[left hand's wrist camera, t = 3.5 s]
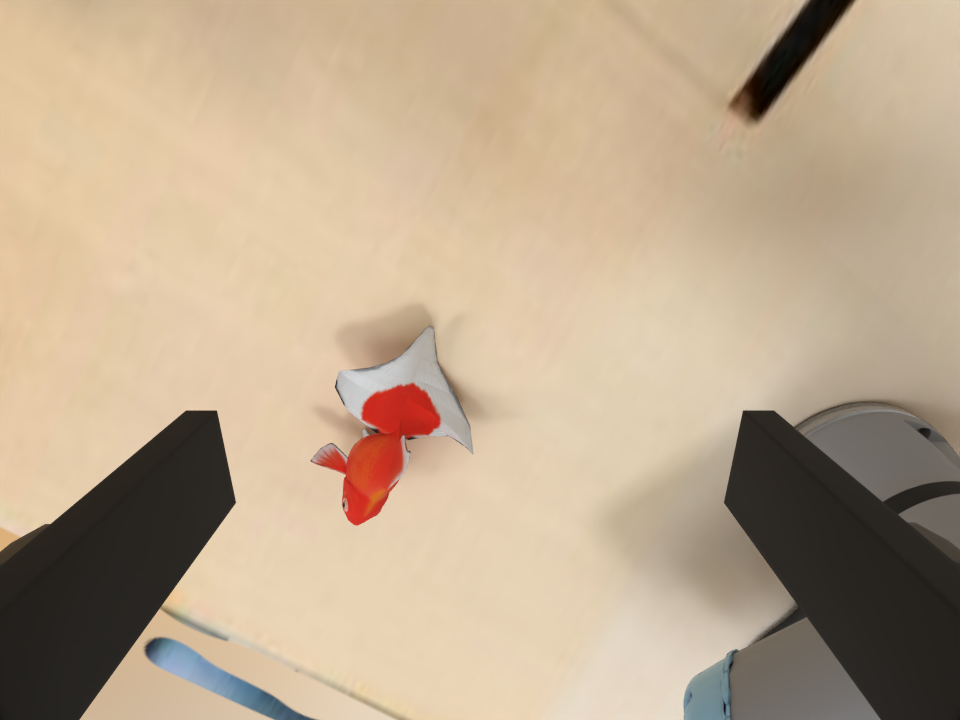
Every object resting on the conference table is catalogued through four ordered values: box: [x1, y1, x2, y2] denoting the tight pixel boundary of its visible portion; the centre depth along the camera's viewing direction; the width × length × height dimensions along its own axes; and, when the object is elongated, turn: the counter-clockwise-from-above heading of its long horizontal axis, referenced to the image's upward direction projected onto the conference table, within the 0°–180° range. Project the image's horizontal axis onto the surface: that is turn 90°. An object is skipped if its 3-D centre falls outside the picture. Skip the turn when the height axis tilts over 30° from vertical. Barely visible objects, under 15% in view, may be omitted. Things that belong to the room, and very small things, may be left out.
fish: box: [311, 326, 473, 526], centre depth 38 cm, size 11×16×10 cm
